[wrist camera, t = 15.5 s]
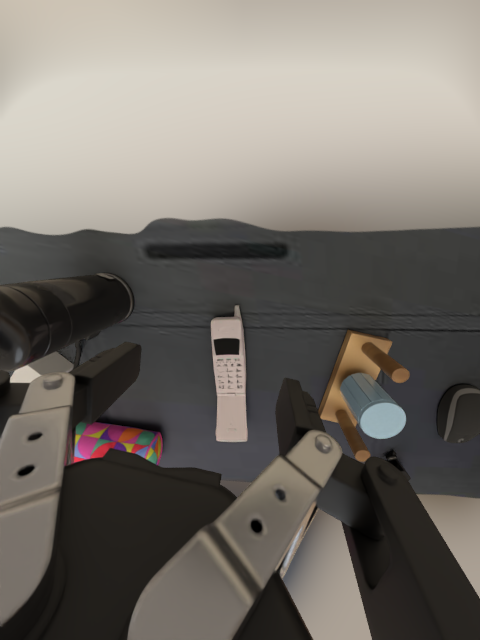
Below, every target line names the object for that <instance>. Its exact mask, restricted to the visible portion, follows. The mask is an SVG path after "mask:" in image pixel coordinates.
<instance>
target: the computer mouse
mask: <svg viewBox="0 0 480 640" xmlns="http://www.w3.org/2000/svg"><path fill="white" fill-rule="evenodd" d="M437 428H438V433H439V435H440V437H442V438H443V439H444V440H445V441H447V442H450V443H463V442H467V441H469V440H471V439H472V438H474V437H475V436H477V435H478V434H480V390H479V389H478V388H476V387H474V386H472V385H457V386H454V387H452V388H450V389H449V390H448V391H447V392H446V393H445V395H444V396H443V398H442V400H441V402H440V405H439V408H438V415H437Z"/></svg>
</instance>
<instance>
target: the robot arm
mask: <svg viewBox="0 0 480 640" xmlns="http://www.w3.org/2000/svg"><path fill="white" fill-rule="evenodd" d="M133 307H134V297H133V294H132V291H131V289H130V287H129V286H128V285H127V283H126V282H125V281H124V280H123V279H121V278H120V277H118V276H116V275H114V274H110V273H97V274H95V275H85V276H76V277H67V278H58V279H48V280H39V281H30V282H22V283H13V284H4V285H0V640H313V638H312V637H311V634H310V633H309V631H308V629H307V627H306V625H305V623H304V621H303V619H302V617H301V615H300V613H299V611H298V609H297V607H296V605H295V603H294V602H293V599H292V598H291V595H290V594H289V592H288V590H287V588H286V586H285V584H284V582H283V580H282V579H283V577H284V575H285V573H286V571H287V569H288V567H289V565H290V562H291V561H292V558H293V556H294V554H295V552H296V550H297V548H298V546H299V544H300V543H301V541H302V539H303V537H304V535H305V533H306V531H307V530H308V528H309V526H310V524H311V522H312V520H313V518H314V516H315V515H316V513H317V511H318V509H321V510H323V511H324V512H326V513H328V514H329V515H331V516H333V517H335V518H336V519H338V520H340V521H341V522H342V526H343V529H344V533H345V537H346V541H347V545H348V548H349V553H350V556H351V560H352V564H353V568H354V572H355V576H356V579H357V583H358V587H359V591H360V595H361V598H362V602H363V606H364V610H365V614H366V618H367V621H368V625H369V629H370V633H371V636H372V640H480V598H479V596H478V595H477V593H476V592H475V590H474V588H473V587H472V585H471V584H470V582H469V580H468V579H467V577H466V575H465V573H464V572H463V570H462V569H461V567H460V565H459V564H458V562H457V560H456V559H455V557H454V556H453V554H452V552H451V551H450V549H449V547H448V546H447V544H446V542H445V541H444V539H443V537H442V536H441V534H440V533H439V531H438V529H437V528H436V526H435V524H434V523H433V521H432V519H431V518H430V516H429V514H428V513H427V511H426V510H425V508H424V506H423V505H422V503H421V501H420V500H419V498H418V496H417V495H416V493H415V492H414V490H413V488H412V487H411V485H410V483H409V482H408V480H407V479H406V477H405V476H404V475H403V474H402V472H401V471H400V470H398V469H397V468H396V467H395V466H394V465H392V464H391V463H389V462H387V461H386V460H383V459H381V458H378V457H369V458H368V459H367V460H366V462H365V464H363V463H361V462H359V461H356V460H354V459H352V458H350V457H348V456H346V455H345V454H343V453H342V449H341V447H340V445H339V443H338V442H337V441H336V440H335V439H334V438H333V437H332V436H330V435H329V434H327V433H326V431H325V428H324V426H323V423H322V420H321V418H320V415H319V414H318V410H317V408H316V405H315V402H314V399H313V398H312V397H311V396H310V395H309V394H308V392H304V391H302V389H301V386H300V383H299V381H298V380H293V379H289V378H284V380H283V383H282V386H281V389H280V393H279V396H278V400H277V403H276V411H275V414H276V424H277V434H278V443H279V453H280V454H279V455H278V456H277V457H276V458H275V459H274V460H273V461H272V462H271V463H270V464H269V465H268V466H267V467H266V468H265V469H264V470H263V471H262V473H261V474H260V475H259V476H258V477H257V478H256V479H255V480H254V481H253V482H252V483H251V484H250V485H249V486H248V487H247V488H246V489H245V490H244V491H243V492H242V493H241V494H240V496H238V497H236V496H235V495H234V494H233V493H232V492H231V491H229V490H228V489H227V488H225V487H223V486H222V485H220V480H221V475H222V474H219V473H215V472H211V471H207V470H202V469H198V468H162V467H159V466H158V465H156V464H154V463H152V462H150V461H149V460H147V459H145V458H143V457H141V456H140V455H138V454H135V453H130V452H126V451H122V450H118V449H113V448H109V450H108V451H107V452H106V454H105V455H104V456H103V457H99V458H91V459H86V460H82V461H78V462H75V463H74V453H75V439H76V426H77V425H78V424H79V423H80V422H82V423H86V424H90V425H92V424H93V423H94V422H95V421H96V420H97V419H98V418H99V417H100V416H101V415H102V414H103V413H104V412H105V411H106V410H107V409H108V408H109V407H110V406H111V405H112V404H113V403H114V402H115V401H116V400H117V399H118V398H119V397H120V396H121V395H122V394H123V393H124V392H125V391H126V390H127V389H128V388H129V387H130V386H131V385H132V384H133V383H134V382H135V380H136V379H137V377H138V375H139V371H140V359H141V346H140V345H138V344H134V343H129V342H124V343H123V344H121V345H120V346H118V347H116V348H112V349H109V350H106V351H103V352H101V353H100V354H98V355H96V356H95V357H93V358H91V359H90V360H89V361H86V362H85V363H83V364H81V365H80V366H78V364H79V360H80V354H81V346H80V341H81V340H82V339H86V340H89V339H91V338H94V337H96V336H98V335H99V333H100V331H101V330H103V329H105V328H107V327H110V326H112V325H114V324H117V323H120V322H122V321H124V320H126V319H127V318H128V317H129V316H130V315H131V313H132V311H133ZM73 343H75V347H76V349H77V350H76V358H75V363H74V366H73V370H72V371H70V372H68V373H66V372H54V373H48V374H45V375H42V376H39V377H37V378H36V379H34V380H33V381H32V382H31V383H10V375H9V373H8V372H9V371H14V370H17V369H19V368H22V367H24V366H27V365H29V364H31V363H33V362H35V361H37V360H39V359H41V358H43V357H45V356H48V355H50V354H52V353H54V352H56V351H58V350H60V349H62V348H64V347H67V346H69V345H71V344H73Z"/></svg>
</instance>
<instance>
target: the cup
mask: <svg viewBox="0 0 480 640" xmlns="http://www.w3.org/2000/svg"><path fill="white" fill-rule="evenodd" d="M340 391H341V395H342V397H343V399H344V401H345V402H346V404H347V406H348V408H349V409H350V411H351V413H352V414H353V416H354V418H355V419H356V421H357V423H358V424H359V426H360V428H362V430H363V431H364V432H365V433H366V434H367V435H369V436H370V437H373V438H378V439H384V438H389V437H392V436H394V435H396V434H398V433H399V432H400V431H401V430H402V429H403V427H404V426H405V423H406V415H405V412H404V411H403V409H402V408H401V407H400V406H399V405H398V404H397V403H396V402H395V400H394V399H393V398H392V397H391V396H390V395H389V394H388V393H387V392H386V391H385V390H384V389H383V388H382V387H381V386H380V385H379V383H378V382H377V381H376V380H375V379H374V378H373V377H371V376H370V375H369V374H364V373H356V374H351V375H349V376H348V377H347V378H346V379H344V380H343V382H342V384H341V387H340Z"/></svg>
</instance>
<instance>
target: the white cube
mask: <svg viewBox="0 0 480 640" xmlns="http://www.w3.org/2000/svg"><path fill="white" fill-rule="evenodd" d="M73 366H74V364H72V363H71V362H70V361H68V360H67V359H66V358H64V357H63V356H62V355H60V354H59V353H58V352H54V353H52V354H50V355H48V356H45V357H43V358H41V359H39V360H37V361H35V362H33V363H31V364H29V365H27V366H24V367H22V368H19V369H17V370H15V372H14V373H13V375H12V377H11V378H10V383H31V382H32V381H33V380H34V379H36V378H37V377H39V376H42V375H45V374H48V373H54V372H66V373H68V372H70V371H72V370H73Z"/></svg>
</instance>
